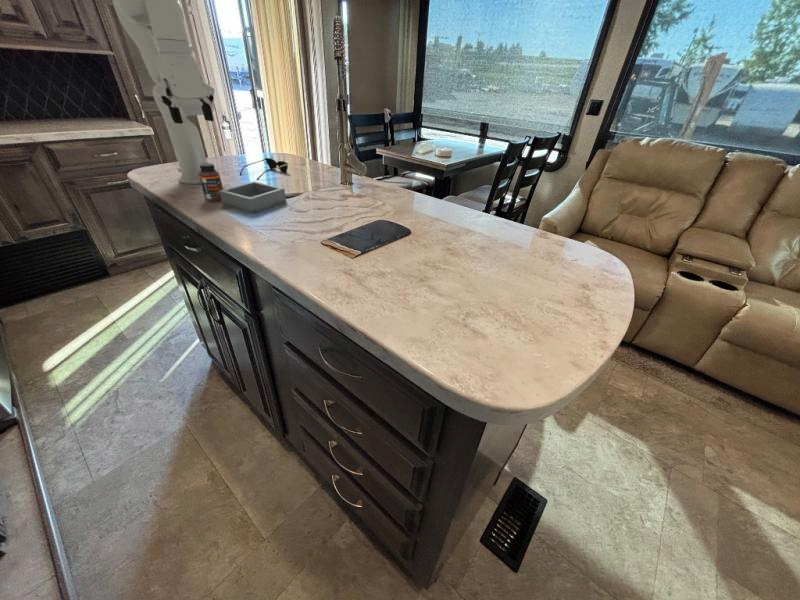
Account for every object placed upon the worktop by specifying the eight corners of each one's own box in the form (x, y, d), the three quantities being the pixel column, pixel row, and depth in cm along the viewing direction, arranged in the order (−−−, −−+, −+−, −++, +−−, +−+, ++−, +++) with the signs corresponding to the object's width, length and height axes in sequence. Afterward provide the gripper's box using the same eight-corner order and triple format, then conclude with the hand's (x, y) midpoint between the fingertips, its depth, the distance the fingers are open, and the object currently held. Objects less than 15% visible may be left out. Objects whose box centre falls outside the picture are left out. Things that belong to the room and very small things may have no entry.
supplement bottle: (211, 203, 107) (201, 167, 100) (202, 199, 109) (191, 164, 103) (229, 199, 111) (220, 164, 104) (219, 195, 113) (210, 161, 107)
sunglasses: (290, 174, 142) (287, 162, 139) (259, 184, 131) (256, 171, 128) (268, 168, 148) (265, 157, 145) (237, 178, 137) (234, 165, 134)
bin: (222, 204, 106) (219, 190, 104) (256, 194, 117) (254, 181, 114) (253, 213, 101) (250, 199, 99) (286, 201, 112) (284, 188, 109)
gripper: (195, 51, 95) (212, 118, 104) (131, 46, 82) (157, 123, 92) (212, 52, 92) (228, 120, 102) (149, 46, 79) (173, 125, 89)
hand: (194, 121), depth 97 cm, fingers open, 9 cm apart
